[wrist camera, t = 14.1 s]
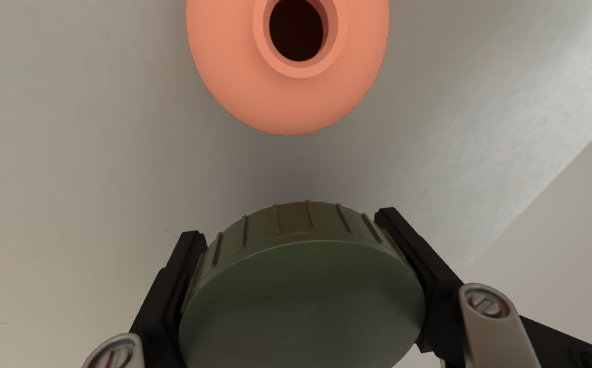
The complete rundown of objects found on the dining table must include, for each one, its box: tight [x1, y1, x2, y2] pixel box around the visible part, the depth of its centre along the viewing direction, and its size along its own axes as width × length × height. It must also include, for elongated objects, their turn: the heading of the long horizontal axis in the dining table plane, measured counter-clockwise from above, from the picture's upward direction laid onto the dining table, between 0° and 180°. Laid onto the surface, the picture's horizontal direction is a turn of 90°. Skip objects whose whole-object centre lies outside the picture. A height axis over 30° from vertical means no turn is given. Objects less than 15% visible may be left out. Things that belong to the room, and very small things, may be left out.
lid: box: [178, 200, 426, 368], centre depth 8 cm, size 7×7×2 cm
